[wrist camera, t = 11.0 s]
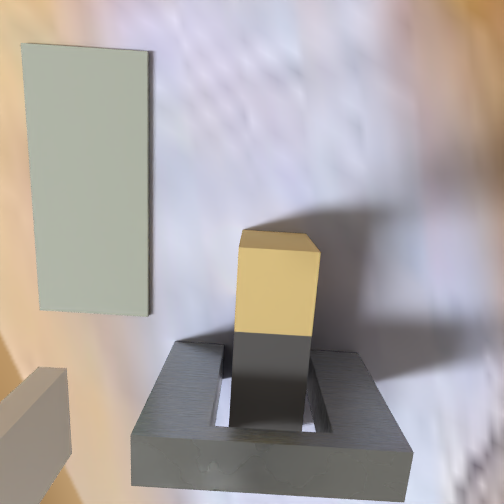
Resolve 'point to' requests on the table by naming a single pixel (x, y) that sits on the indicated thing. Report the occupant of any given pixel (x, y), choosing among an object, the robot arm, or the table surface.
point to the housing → (270, 435)
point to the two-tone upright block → (273, 329)
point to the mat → (89, 176)
